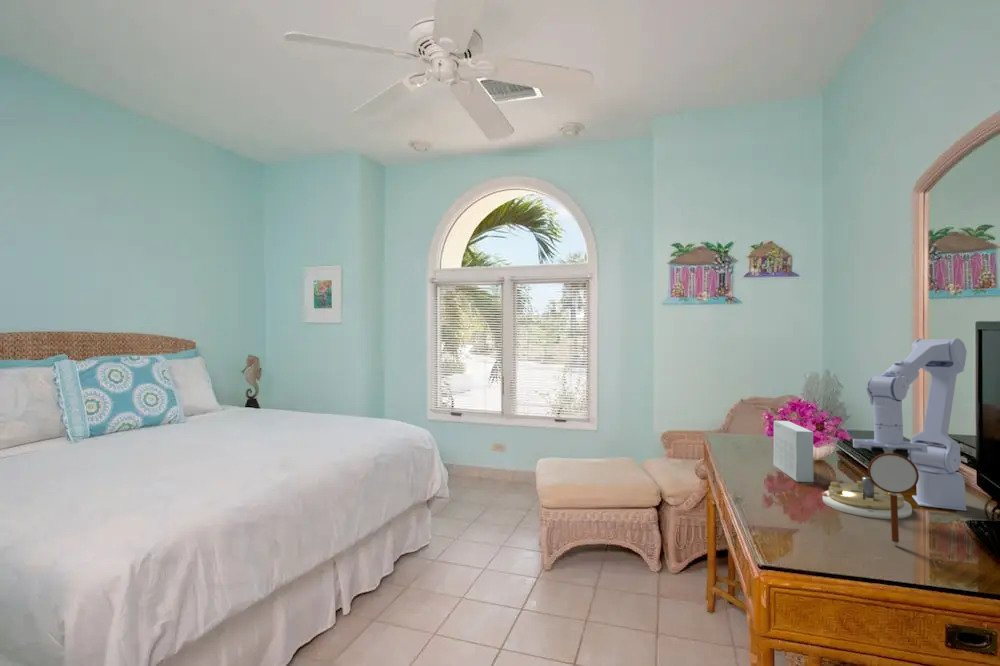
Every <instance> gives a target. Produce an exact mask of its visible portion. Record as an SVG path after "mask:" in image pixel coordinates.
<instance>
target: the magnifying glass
mask: <svg viewBox="0 0 1000 666" xmlns="http://www.w3.org/2000/svg"><path fill="white" fill-rule="evenodd" d="M867 473H868V477H870V479H871V481H872V482H873V483H874V486H877V487H878V488H880V489H881V490H883V491H886V492H889V493H891V494H890V505H891V519H890V526H891V530H890V531H891V532H890V533H891V541H892V543H893V546H895V547H897V546H898V545H899V544H898V543H899V542H900V537H899V534H900V533H899V519H898V506H897V495H896V494H899V493H900V494H904V493H908V492H910V491H912V490H913V489H914V488H916V484H917V482H918V479H919V474H918V470H917V468H916V466H915V465H914V464H913V463H912V462H911V461H910V460H909V459H908V458H906V457H904V456H902V455H899V454H894V453H893V452H884V454H880V455H878V456H876V457H873V458H872V459H871V461H870V462H869V463H868V466H867Z"/></svg>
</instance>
